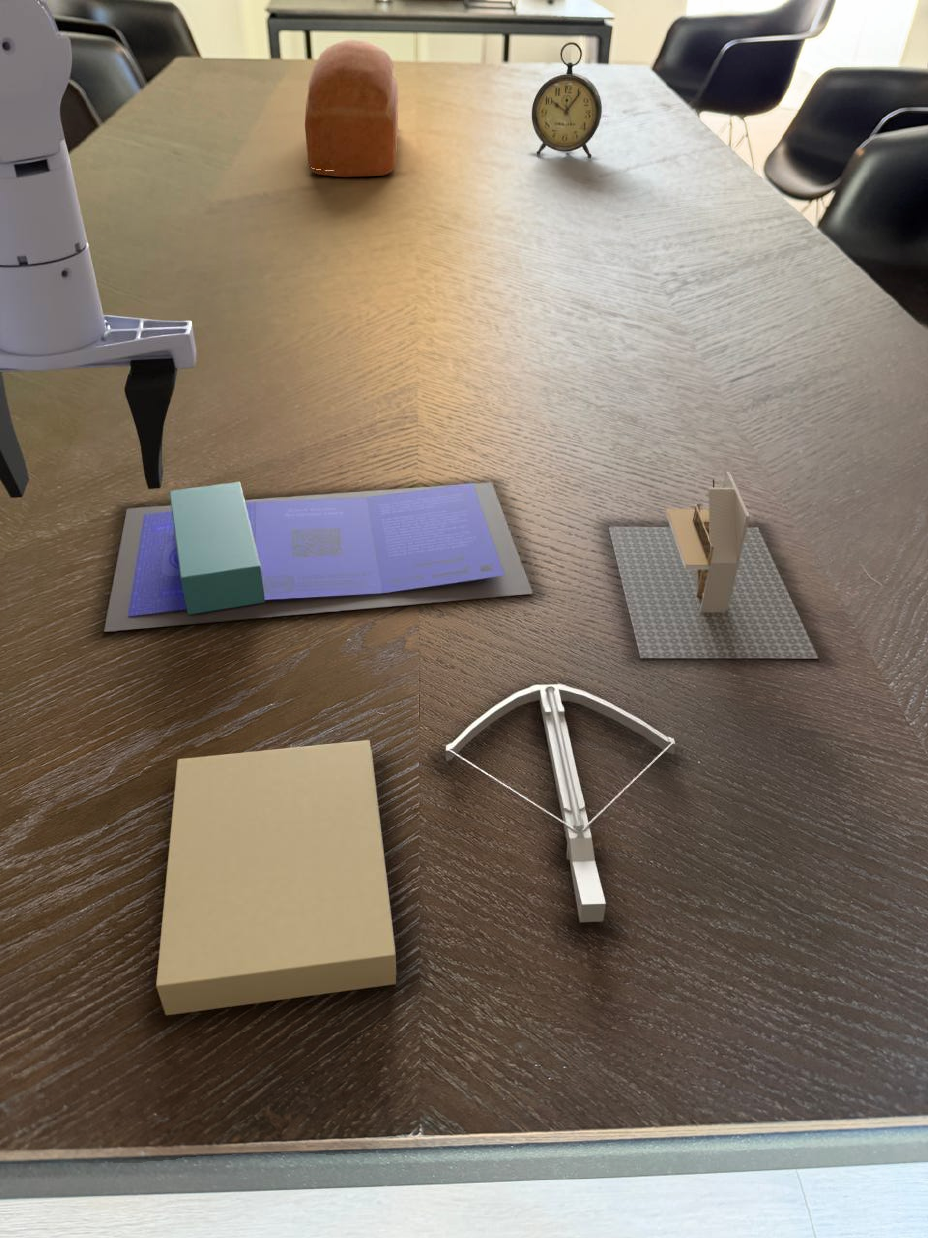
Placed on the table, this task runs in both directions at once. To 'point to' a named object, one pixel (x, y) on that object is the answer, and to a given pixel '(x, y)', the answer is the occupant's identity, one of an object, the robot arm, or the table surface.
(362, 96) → the bread
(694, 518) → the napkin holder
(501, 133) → the table surface
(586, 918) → the crossbow
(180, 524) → the teal rectangular block
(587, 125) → the alarm clock
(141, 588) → the booklet
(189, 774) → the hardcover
